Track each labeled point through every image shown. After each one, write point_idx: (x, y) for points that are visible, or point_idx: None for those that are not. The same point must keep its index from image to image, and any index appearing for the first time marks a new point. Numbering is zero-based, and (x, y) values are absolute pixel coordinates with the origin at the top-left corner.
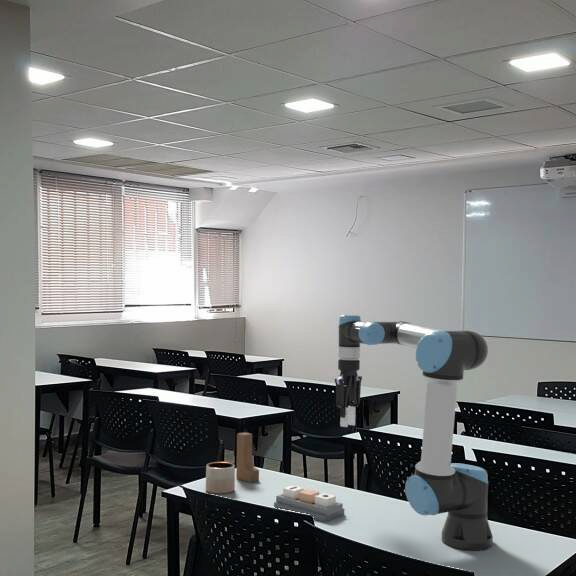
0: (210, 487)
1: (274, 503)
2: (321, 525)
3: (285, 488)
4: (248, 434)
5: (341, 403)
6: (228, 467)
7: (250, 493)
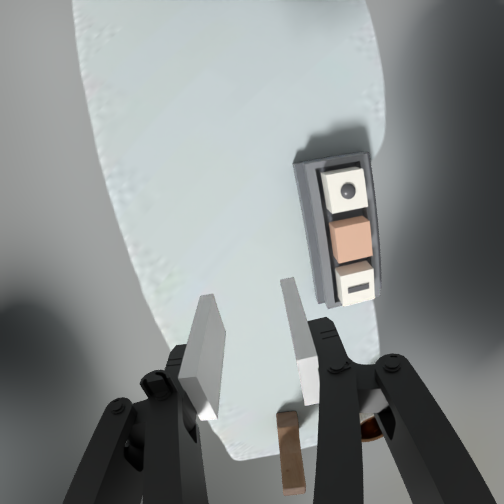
0: None
1: (380, 286)
2: (381, 141)
3: (372, 294)
4: (293, 488)
5: (415, 375)
6: None
7: None
